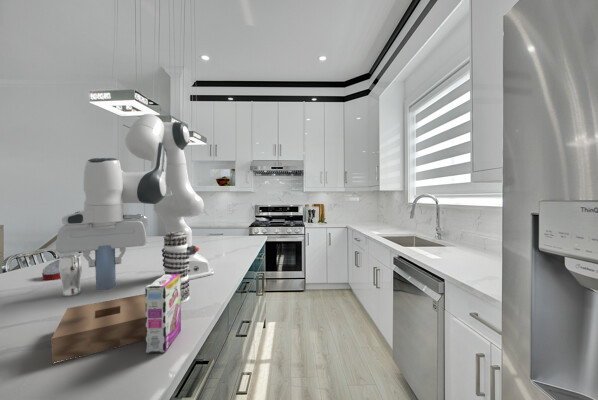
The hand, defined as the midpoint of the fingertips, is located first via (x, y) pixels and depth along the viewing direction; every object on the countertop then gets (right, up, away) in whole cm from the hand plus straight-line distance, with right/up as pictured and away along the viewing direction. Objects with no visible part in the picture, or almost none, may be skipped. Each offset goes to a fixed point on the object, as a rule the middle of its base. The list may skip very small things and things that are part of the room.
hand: (105, 265), depth 75 cm
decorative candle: (+9, -19, +24) cm, 32 cm away
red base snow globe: (-62, -19, +54) cm, 85 cm away
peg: (0, -6, 0) cm, 6 cm away
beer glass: (-36, -19, +32) cm, 52 cm away
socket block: (0, -19, +1) cm, 19 cm away
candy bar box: (+19, -19, -4) cm, 27 cm away
